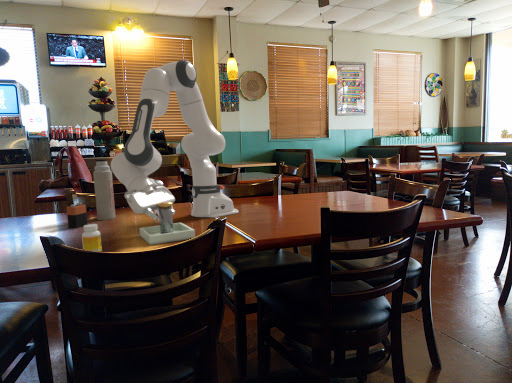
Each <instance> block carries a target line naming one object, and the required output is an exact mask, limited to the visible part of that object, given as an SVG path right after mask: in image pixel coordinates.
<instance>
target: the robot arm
mask: <svg viewBox="0 0 512 383" xmlns="http://www.w3.org/2000/svg"><path fill="white" fill-rule="evenodd" d="M197 73H198V72H197V70H196V67H195V65H194V64H193V63H192V62H191V61H189V60H186V59H184V60H183V59H182V60H178V61H173V62H167V63H166V64H164V65H161V66H158V67H153V68H152V67H151V68H149V69H147V70H146V72H145V74H144V77H143V79H142V84H141V86H140V87H141V88H140V94H139V95H140V96H139V101H138V104H137V107H136V110H135V116H134V119H133V125H132V128H131V132H130V135H129V137H128V138H127V140H126V142H125V144H124V147H123V152H119V153H117V154H115V156H113V158H112V160H111V161H110V169H111V171H112V174H114V176H115V177H116V179H118V181H119V182H120V183H121V184H122V185H124V186H125V189H126V191H125V193H124V198H125V199H126V202H127V203H128V206H129V207H130V209H131V210H132V211H133V213H135V214H137V215H141V214H145V215H146V216H148V217H150V218H151V219H152V220H154V221H157V220H159V213H157V212H154V211H156V210H159V207H157V203H160V202H173V204H174V203H175V201H176V198H175V196H174V195H173V194H172V192H171V191H170V190H169V189H168V188H167V187H166V186H164V183H163V181H161V180H159V179H154V178H150V177H148V176H150V175H151V174H153V173H155V172H156V171H158V170H159V169H160V168H161V166H162V163H163V157H162V154H161V153H160V151H159V150H157V148H155V147H154V145H153V144H152V141H151V132H152V128H153V127H152V126H153V122H154V119H155V118H160V117H162V116H164V115H165V114H166V113H167V110H168V108H169V103H170V94H171V93H170V92H175V95H176V99H177V102H178V108H179V111H180V114H181V117H182V120H183V123H184V124H185V125H186V126H187V127H189V129H190V130H191V131H192V132H191V133H187V134H186V135H184V136H183V137H182V139H181V142H180V145H181V149H182V151H183V152H184V153H185V154H186V157H187V158H188V161H189V163H190V167H191V173H192V189H191V193H192V194H191V195H192V197H193V198H192V199H193V201H192V210H191V214H190V215H191V216H192V217H196V218H217V217H219V218H220V217H223V216H230V215H235V214H238V213H239V210H238V209H237V208H235V207H234V202H233V200H232V199H231V198H230V197H228V196H227V195H226V194H224V193H223V192H221V190H222V191H223V190H224V189H225V186H224V185H219V184H217V169H216V166H215V165H214V163H212V161H211V159H210V156H216V155H218V154H221V153H223V151H224V150H225V149H226V139H225V137H224V134H222V133H220V132H219V130H217V128H215V126H214V125H213V123H212V121H211V119H210V118H209V116H208V112H207V108H206V106H205V102H204V99H203V96H202V92H201V91H200V90H201V89H200V88H199V86H198V83H197V76H198V75H197ZM173 206H174V205H173ZM173 206H172V216H174V215H175V213H176V210H175V209H174V207H173Z"/></svg>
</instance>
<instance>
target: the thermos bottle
mask: <svg viewBox="0 0 512 383" xmlns="http://www.w3.org/2000/svg"><path fill="white" fill-rule="evenodd" d="M95 162H96V164H95V166H94V171H93V173H92V174H93V185H94V196H95V207H96V208H95V209H96V218H97V220H99V221H101V220H102V221H107V220H108V221H109V220H113V219H115V218H116V208H115V206H116V205H115V195H114V187H113V186H114V184H113V181H114V180H113V171H112V170H110V169H111V165H108V164H109V163H108V159H105V158H101V159H100V158H99V159H95Z"/></svg>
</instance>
